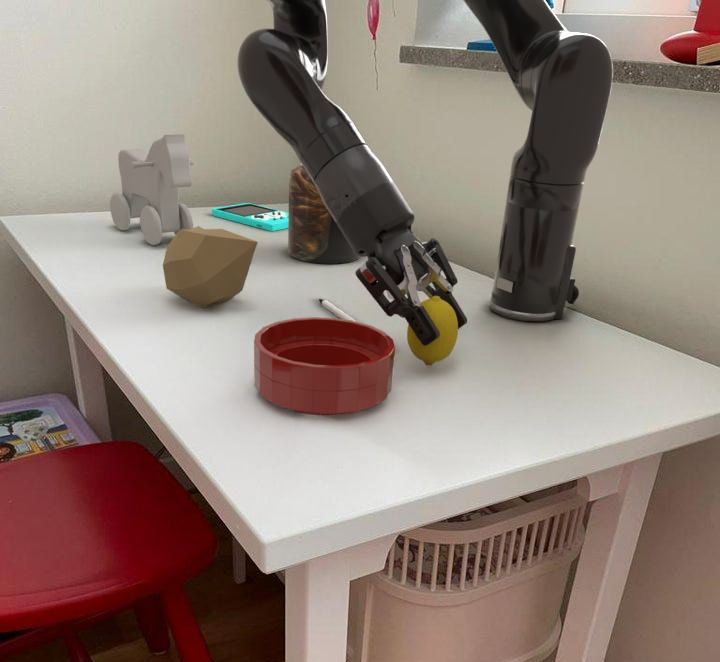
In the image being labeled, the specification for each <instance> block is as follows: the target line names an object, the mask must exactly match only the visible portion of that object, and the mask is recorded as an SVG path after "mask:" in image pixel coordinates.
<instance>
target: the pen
mask: <svg viewBox="0 0 720 662" xmlns="http://www.w3.org/2000/svg"><path fill="white" fill-rule="evenodd" d="M318 302H319V303H320V305H321V307H324V308H325V309H326V310H327V311H329V312H331V313H332V314H333V315H335V316H336V317H337V318H338V319H344V320H351V321H356V322H358V321H357V320H356V319H354V318H353V317H351V316H350V315H349V314H347V313H346V312H344V311H342V310H341V309H339V307H337V306H336V305H335V304H333V303H332V302H330V301H328V300H326V299H323V298H318Z"/></svg>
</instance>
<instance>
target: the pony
mask: <svg viewBox="0 0 720 662" xmlns="http://www.w3.org/2000/svg"><path fill="white" fill-rule="evenodd" d="M117 158H118V159H117V160H118V161H117V163H118V169H119V170H118V171H119V176H120V180H121V193H120V192H115V193H113V194H112V195H111V196H110V201H109V209H110V210H109V211H110V216H111V218H112V222H113V224H114V226H115V227H116V228H117V229H118V230H120V231H122V232H126V231H127V230H128V229H129V228H130V225H131V219H137V218H138V219H139V225H140V230H141V233H142V236H143V238H144V240H145V241H146V243H147V244H149V245H151V246H152V247H153V246H154V247H155V246H157V245H159V244H160V243H161V241H162V238H163V234H164V233H172V232H173V233H174V235H176V234H177V233H178V232H179V230H185V229H192V228H194V220H193V216H192V213H191V211H190V209H189V208H188V206H187V205H186V204H185V203H182V202H179V196H180V195H179V189H180V188H181V189H182V188H190V187H191V186H192V185H193V178H192V173H191V166H194V165H195V160H194V159H193V158H190V154H189V149H188V146H187V143H186V135H185V133H183V134H182V133H181V134H164V135H163V136H162V137H161V138H158V139H156V140H154V141H153V143H152V144H151V146H150V148H149V150H148V151H147V150H145V149H143V148H132V149H131V148H130V149H120V150H119V152H118V157H117Z"/></svg>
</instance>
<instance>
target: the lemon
mask: <svg viewBox="0 0 720 662" xmlns="http://www.w3.org/2000/svg"><path fill="white" fill-rule="evenodd" d="M421 306H423V307H424V308H425V310H426V311H427V313H428V315H429V316H430V318H431V319H432V321H433V323H434V324H435V326H436V327H437V329H438V330H439V332H440V336H439V338H437V339H436V340H435V341H433V342H432V343H430V344H428V345H426V346H424V345H423V344H422V343H421V342H420V340H419V339H418V338H417V336H416V335H415V333H414V332H413V330H412V328H411V327H410V325H409V324H408V323H407V324H408V325H407V331H406V339H407V344H408V347H409V349H410V351H411V353H412V354H413V355H414V356H415V358H417V359H418V360H419V361H422V362H423V363H424V365H425V366H427V367H431V366H433V365H434V364H435V363H438V362H440V361H443V360H445V359H446V358H448V357H449V355H450V354H451V353H452V352H453V350H454V348H455V346H456V343H457V340H458V335H459V329H458V322H457V317H456V314H455V311H454V309H453V308H452V307H451V306H450V305H449V304H448V303H447V302H445V301H444V300H441V298H440V297H439V296H433V297H432V298H431V299H430V298H427V299H424V300H423V301H420V306H419V307H421Z"/></svg>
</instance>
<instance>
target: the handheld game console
mask: <svg viewBox="0 0 720 662" xmlns="http://www.w3.org/2000/svg"><path fill="white" fill-rule="evenodd" d="M211 215H212V216H214V217H218V218H222V219H225V220H228V221H232V222H235V223H240V224H243V225H247V226H250V227H255V228H258V229H262V230H265V231H270V232H274V231H279V230H285V229H288V216H289V211H288V212H287V211H283V210H279V209H275V208H271V207H268V206H264V205H260V204H259V205H258V204H254V203H250V202H245V203H237V204H232V205H226V206H219V207H214V208H213V207H212V208H211Z"/></svg>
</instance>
